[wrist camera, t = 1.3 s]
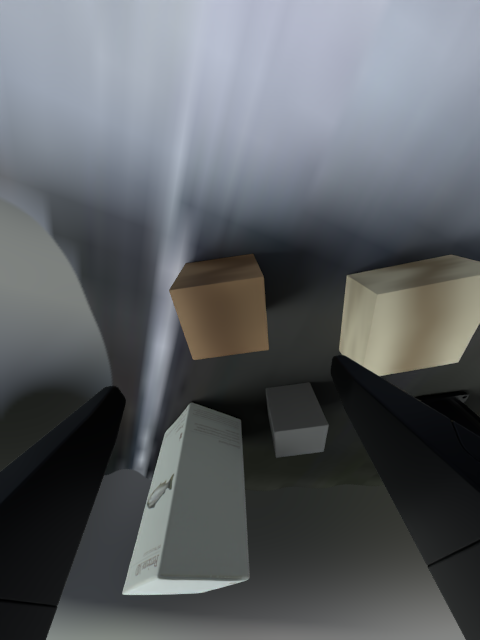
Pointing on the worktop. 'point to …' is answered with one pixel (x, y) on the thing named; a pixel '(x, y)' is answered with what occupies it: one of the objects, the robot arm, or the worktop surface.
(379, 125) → the worktop surface
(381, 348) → the birch block
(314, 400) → the gray cube
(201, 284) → the walnut cube
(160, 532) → the supplement box
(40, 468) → the robot arm
